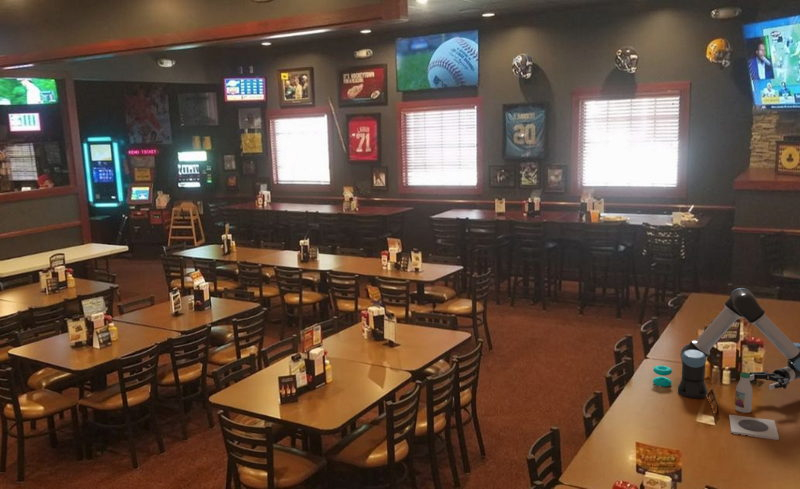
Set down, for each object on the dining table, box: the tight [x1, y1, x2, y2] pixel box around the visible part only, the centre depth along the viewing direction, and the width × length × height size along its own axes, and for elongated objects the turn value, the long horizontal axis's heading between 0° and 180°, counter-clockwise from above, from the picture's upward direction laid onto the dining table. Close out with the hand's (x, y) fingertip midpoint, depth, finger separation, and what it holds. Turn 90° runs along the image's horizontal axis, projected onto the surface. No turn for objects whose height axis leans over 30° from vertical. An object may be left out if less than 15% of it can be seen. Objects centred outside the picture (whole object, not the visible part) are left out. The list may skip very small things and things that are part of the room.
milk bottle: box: [734, 371, 753, 414], centre depth 341 cm, size 8×8×20 cm
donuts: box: [652, 365, 673, 388], centre depth 379 cm, size 10×10×10 cm
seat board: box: [728, 414, 780, 441], centre depth 322 cm, size 20×20×1 cm
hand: (757, 383), depth 344 cm, fingers open, 13 cm apart
